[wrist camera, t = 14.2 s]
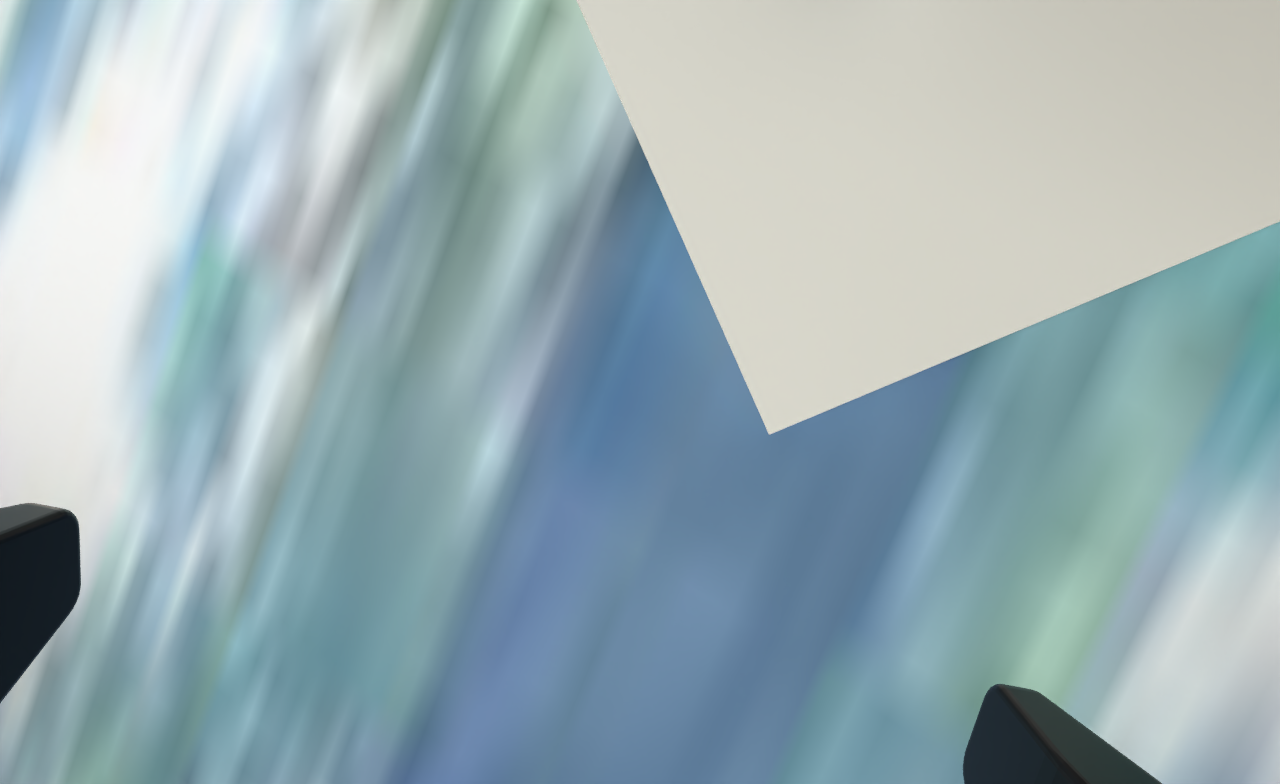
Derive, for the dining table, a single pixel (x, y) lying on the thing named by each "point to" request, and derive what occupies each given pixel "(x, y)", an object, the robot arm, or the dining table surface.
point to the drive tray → (938, 164)
